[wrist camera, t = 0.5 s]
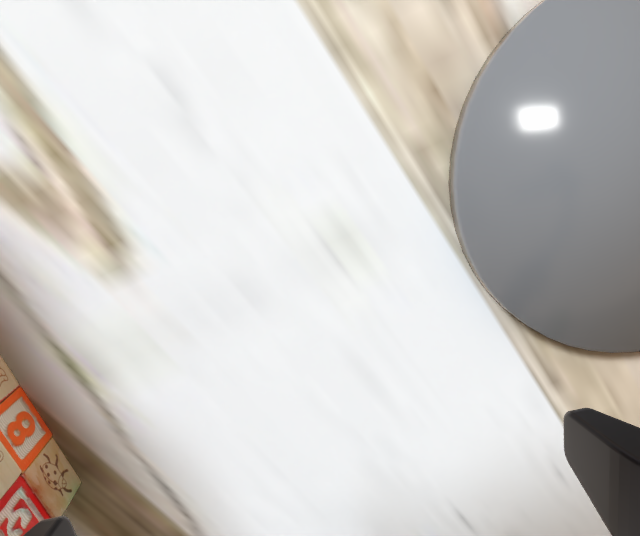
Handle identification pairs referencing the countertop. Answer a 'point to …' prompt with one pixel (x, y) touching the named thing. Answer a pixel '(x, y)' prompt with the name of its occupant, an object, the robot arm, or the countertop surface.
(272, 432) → the countertop surface
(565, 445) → the robot arm
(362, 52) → the countertop surface
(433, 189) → the countertop surface
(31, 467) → the stack of blocks
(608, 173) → the slate plate
